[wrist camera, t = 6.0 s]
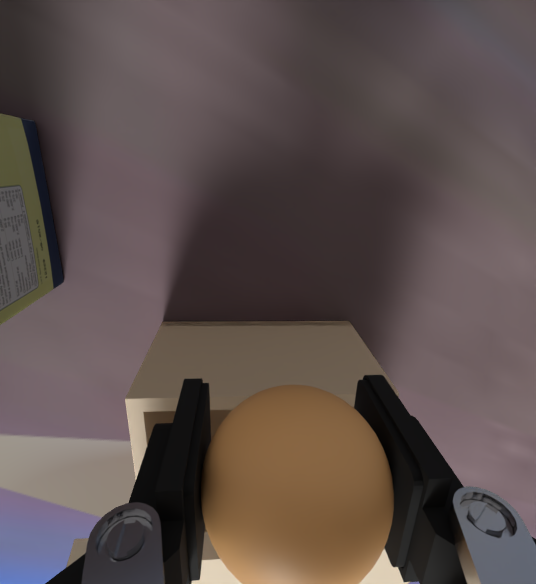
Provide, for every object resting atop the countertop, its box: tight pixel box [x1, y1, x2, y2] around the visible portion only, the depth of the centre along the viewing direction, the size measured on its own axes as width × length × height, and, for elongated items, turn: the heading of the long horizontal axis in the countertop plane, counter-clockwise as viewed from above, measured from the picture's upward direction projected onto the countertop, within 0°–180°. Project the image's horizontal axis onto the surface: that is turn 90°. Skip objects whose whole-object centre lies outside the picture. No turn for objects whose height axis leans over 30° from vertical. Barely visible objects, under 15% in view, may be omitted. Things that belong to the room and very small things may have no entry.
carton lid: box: [66, 385, 410, 584], centre depth 15 cm, size 24×14×5 cm, turn 178°
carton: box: [125, 321, 399, 532], centre depth 25 cm, size 16×14×9 cm
